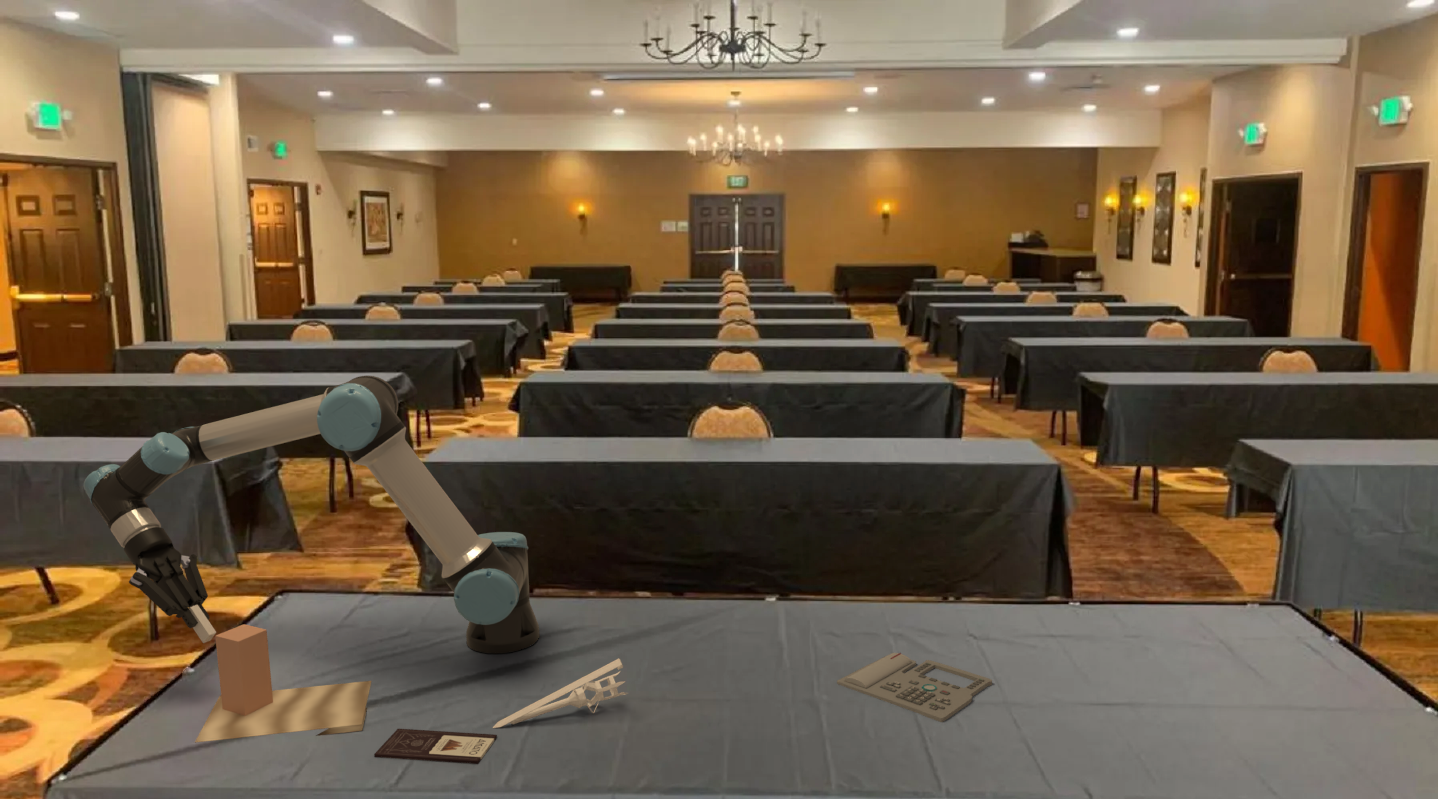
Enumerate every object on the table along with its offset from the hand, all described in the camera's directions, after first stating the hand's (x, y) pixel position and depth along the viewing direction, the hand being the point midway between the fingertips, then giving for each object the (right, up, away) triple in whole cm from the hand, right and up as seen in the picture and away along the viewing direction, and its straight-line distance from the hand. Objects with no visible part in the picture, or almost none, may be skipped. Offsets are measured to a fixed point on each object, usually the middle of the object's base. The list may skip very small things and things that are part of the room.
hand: (209, 637), depth 195 cm
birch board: (+16, -13, -3) cm, 21 cm away
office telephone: (+131, -11, +7) cm, 131 cm away
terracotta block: (+8, -12, -2) cm, 14 cm away
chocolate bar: (+46, -16, -15) cm, 50 cm away
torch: (+66, -13, -4) cm, 67 cm away
